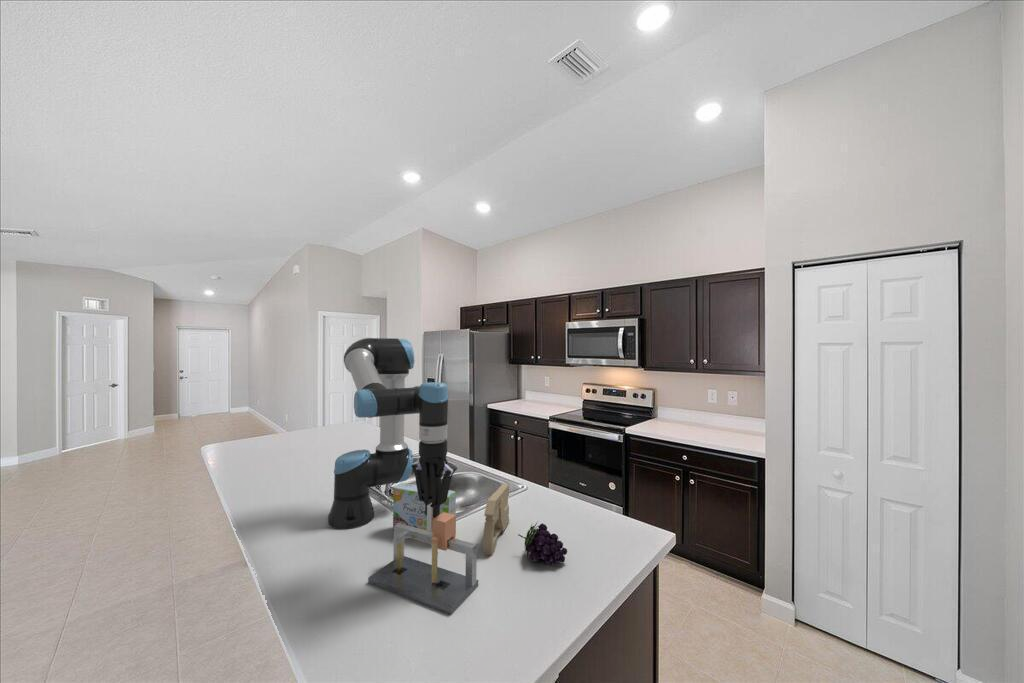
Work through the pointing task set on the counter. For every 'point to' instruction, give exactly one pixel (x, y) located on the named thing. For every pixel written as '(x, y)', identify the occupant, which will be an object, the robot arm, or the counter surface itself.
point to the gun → (495, 518)
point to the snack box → (416, 506)
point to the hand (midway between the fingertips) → (432, 528)
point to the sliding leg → (441, 537)
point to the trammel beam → (425, 536)
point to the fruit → (544, 545)
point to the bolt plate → (424, 584)
